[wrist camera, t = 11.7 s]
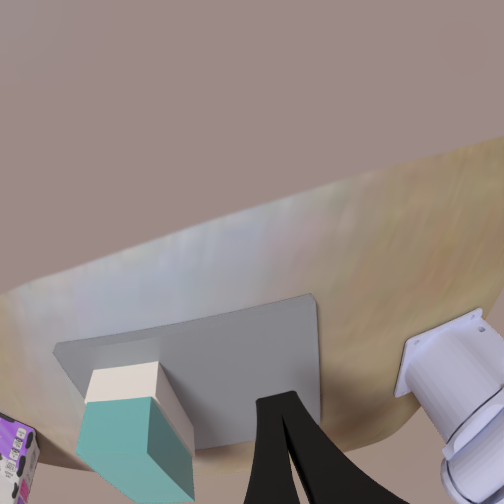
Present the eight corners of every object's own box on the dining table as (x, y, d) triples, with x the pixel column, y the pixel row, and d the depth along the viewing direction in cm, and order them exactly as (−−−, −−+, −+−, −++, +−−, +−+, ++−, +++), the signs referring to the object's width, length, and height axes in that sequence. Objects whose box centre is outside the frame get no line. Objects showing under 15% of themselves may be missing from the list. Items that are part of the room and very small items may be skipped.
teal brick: (151, 396, 16) (146, 453, 13) (191, 457, 20) (194, 501, 16) (87, 401, 16) (75, 453, 12) (138, 461, 19) (136, 503, 16)
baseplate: (310, 293, 20) (333, 332, 16) (317, 415, 26) (330, 449, 22) (56, 343, 18) (39, 382, 15) (132, 446, 25) (130, 480, 21)
